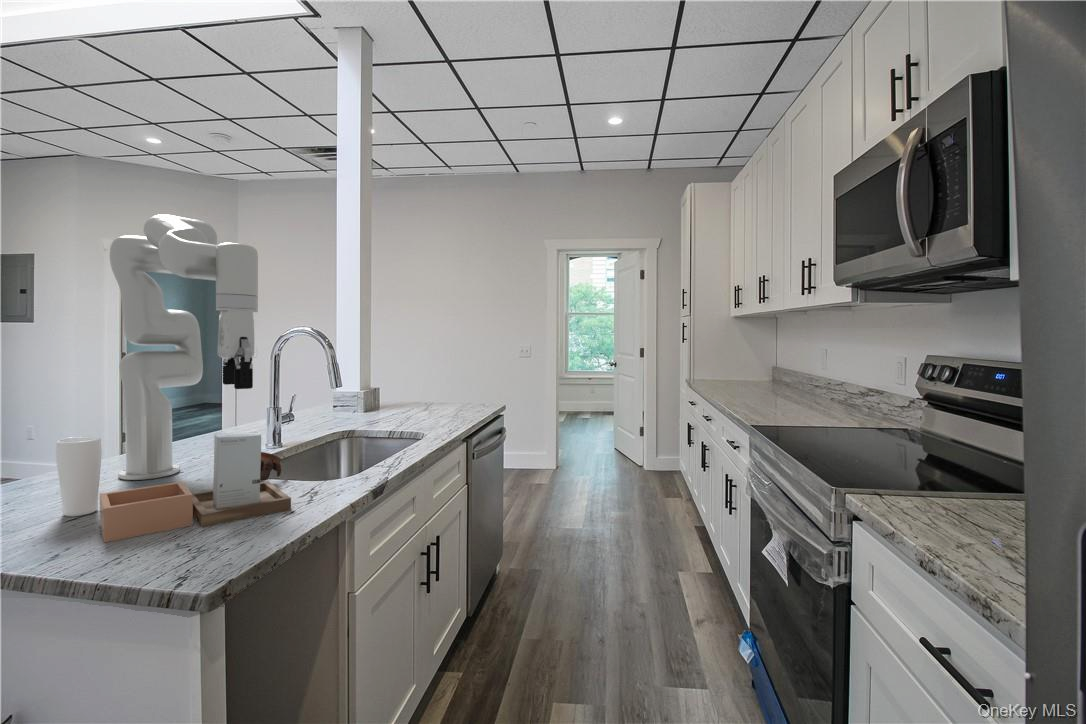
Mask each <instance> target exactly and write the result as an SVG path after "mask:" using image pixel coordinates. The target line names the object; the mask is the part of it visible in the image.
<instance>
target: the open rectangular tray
mask: <svg viewBox="0 0 1086 724" xmlns="http://www.w3.org/2000/svg"><path fill="white" fill-rule="evenodd" d="M192 493H193V492H191V490H190V489H189V488H188V486H187V485H186V484H185V483H184V482H183V481H178V482H171V483H165V484H164V483H163V484H158V485H157V484H156V485H150V486H143V487H137V488H136V487H135V488H130V489H124V490H123V489H122V490H116V491H109V492H101V493H99V524H100V529H101V534H102V539H103V543H104V542H105V543H109V541H110V542H114V541H119V540H124V539H130V538H134V537H138V536H145V535H149V534H154V533H159V532H160V533H161V532H165V531H169V530H174V529H175V530H176V529H180V528H185V527H190V526H193V525H194V519H193V518H194V516H193V494H192Z"/></svg>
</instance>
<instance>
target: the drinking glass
mask: <svg viewBox="0 0 1086 724" xmlns="http://www.w3.org/2000/svg"><path fill="white" fill-rule="evenodd" d="M55 448H56V449H55V454H56V455H55V458H56V459H55V460H56V461H55V462H56V469H57V477H58V482H59V491H60V497H61V499H60V500H61V507H62V508H61V509H62V510H61V511H62V515H63V516H65V517H81V516H86V515H89V514H92V513H95V512H96V511H97V510H98V507H99V492H100V491H99V489H100V480H101V479H100V477H101V469H102V468H101V467H102V453H103V451H102V439H101V436H93V435H92V436H91V435H90V436H89V435H87V436H84V435H83V436H74V437H67V438H61V439H58V440H57V441H56V446H55Z"/></svg>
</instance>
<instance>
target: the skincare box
mask: <svg viewBox="0 0 1086 724" xmlns="http://www.w3.org/2000/svg"><path fill="white" fill-rule="evenodd" d="M213 436H214V439H213V441H214V445H213V446H214V448H213V449H214V450H213V451H214V452H213V489H212V490H213V502H214V505H215V507H216V509H223V508H229V507H236V506H241V505H247V504H252V503H257V502H260V482H261V480H260V468H261V452H262V434H261V433H259V432H258V431H235V432H221V433H215V434H213Z"/></svg>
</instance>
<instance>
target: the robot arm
mask: <svg viewBox="0 0 1086 724" xmlns="http://www.w3.org/2000/svg"><path fill="white" fill-rule="evenodd" d="M143 234H144V236H141V235H122V236H119V237H116V238H115V239H113V241H112V242H111V244H110V247H109V262H110V267H111V270H112V273H113V275H114V278H115V280H116V282H117V285H118V287H119V288H118V289H119V290H120V298H121V309H122V310H121V311H122V320H123V321H122V322H123V330H124V331H123V332H124V335H125V338H126V340H127V342H128V343H130V344H132V345H135V346H145V347H146V346H148V347H149V346H152V347H153V346H155V347H156V346H159V347H160V346H161V347H162V346H163V347H165V346H166V347H170V346H173V347H174V348H175V349H176V350H139V351H133V352H129V353H127V354H126V355H124V356H123V357H122V358H121V360H120V362H119V365H118V367H119V376H120V379H121V383H122V389H123V395H124V396H123V397H124V415H125V416H124V417H125V420H124V422H125V423H124V424H125V427H124V429H125V468H124V469H122V470H119V472H118V473H117V477H118V479H120V480H121V479H122V480H126V481H141V480H152V479H158V478H159V479H160V478H163V477H168V476H172V475H174V474H177V473H179V472H180V470H181V466H180V465H179V464H176V463H173V407H172V402H171V400H170V399H169V398H168V397H167V396H166V395H165V394H164V392H163V391H162V390H161V389H163V388H175V387H189V386H194V385H197V384H198V383H199V382H200V381H201V380H202V377H203V373H204V365H203V364H204V361H203V353H202V342H201V341H202V339H201V329H200V325H199V321H198V319H197V318H196V316H195V315H194V314H193V313H191V312H189V311H187V310H179V309H167V308H166V307H165V304H164V292H163V290H162V288H161V287H160V286H159V284H158V282H157V281H156V280H155V279H154V278H153V277H151V275H149V274H148V273H149V272H150V273H151V272H152V273H159V274H167V275H169V274H170V275H176V276H179V277H181V278H186V279H194V280H195V279H196V280H197V279H198V280H207V281H215V311H217V312H218V311H219V317H218V331H217V332H218V334H217V350H216V351H217V356H218V357H219V358H221V359H222V384H223V385H226V386H227V385H233V388H234V389H235V390H246V389H247V390H248V389H249V390H250V389H253V385H254V384H253V382H254V381H253V380H254V377H253V376H254V375H253V374H254V371H253V370H254V369H253V367H254V366H253V357H254V355H255V323H254V322H255V320H254V313H258V312H259V297H258V296H259V253H258V250H257V248H255V247H254V246H252V245H249V244H246V243H245V244H244V243H237V242H223V243H220V244H218V236H217V235H218V234H217V232H216V230H215V228H214V227H213V226H212V225H211V224H210V223H208V222H206V221H203V220H199V219H193V218H188V217H182V216H178V215H177V216H176V215H172V214H157V215H153V216H151V217H149V218H148V219H147V220H146V221H145V222H144V224H143ZM146 272H148V273H146Z"/></svg>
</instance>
